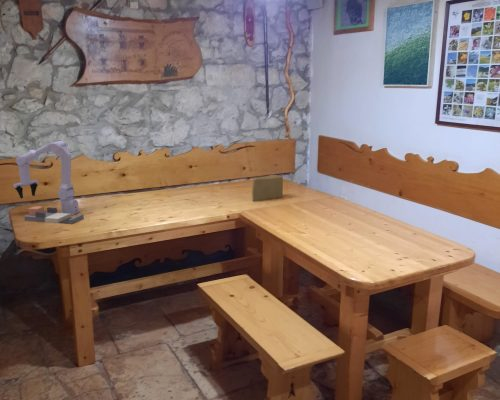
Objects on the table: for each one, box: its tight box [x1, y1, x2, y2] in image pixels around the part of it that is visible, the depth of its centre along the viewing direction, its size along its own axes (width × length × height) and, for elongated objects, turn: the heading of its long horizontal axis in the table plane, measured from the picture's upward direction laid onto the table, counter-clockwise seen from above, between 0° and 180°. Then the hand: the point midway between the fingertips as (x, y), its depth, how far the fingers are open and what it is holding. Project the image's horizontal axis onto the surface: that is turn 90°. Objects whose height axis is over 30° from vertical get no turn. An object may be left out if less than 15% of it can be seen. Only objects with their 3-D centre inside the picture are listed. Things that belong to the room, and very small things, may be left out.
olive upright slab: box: [251, 174, 284, 202], centre depth 333 cm, size 22×10×15 cm, turn 127°
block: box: [27, 205, 45, 216], centre depth 297 cm, size 6×6×4 cm
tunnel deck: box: [23, 206, 85, 225], centre depth 294 cm, size 32×11×6 cm, turn 74°
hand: (27, 196), depth 309 cm, fingers open, 7 cm apart
